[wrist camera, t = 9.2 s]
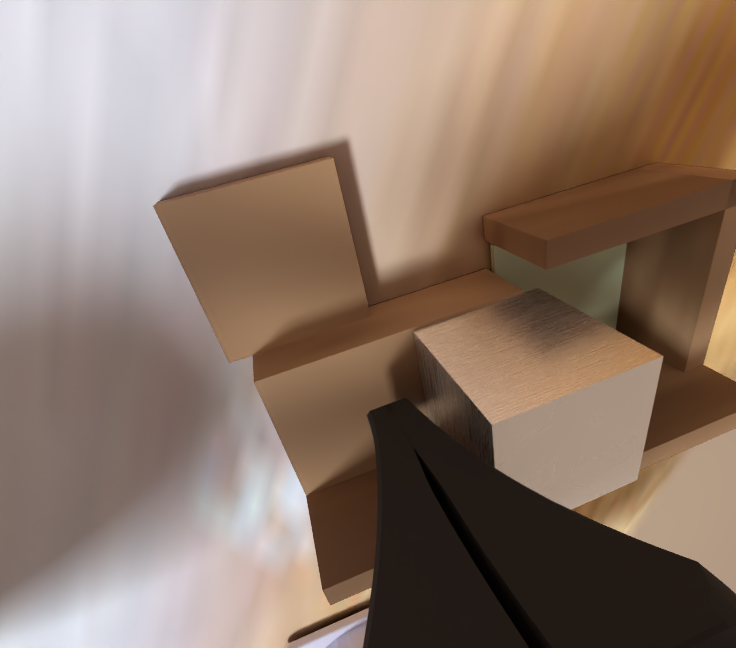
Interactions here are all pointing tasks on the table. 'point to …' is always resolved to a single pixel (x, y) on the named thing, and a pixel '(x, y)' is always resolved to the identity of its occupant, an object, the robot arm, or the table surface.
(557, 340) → the steel cube
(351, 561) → the walnut cabinet
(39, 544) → the table surface
